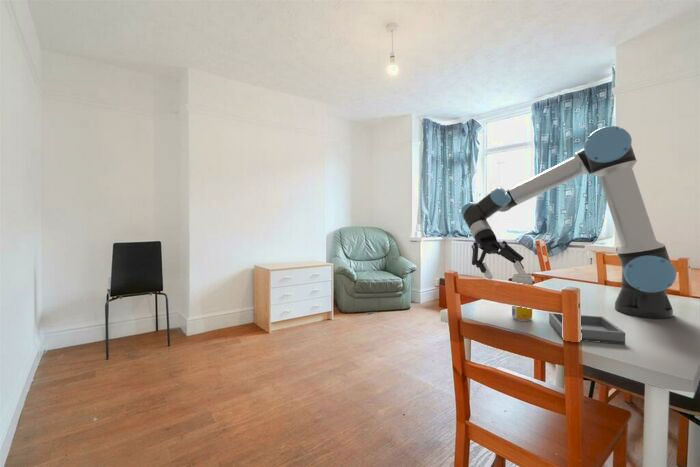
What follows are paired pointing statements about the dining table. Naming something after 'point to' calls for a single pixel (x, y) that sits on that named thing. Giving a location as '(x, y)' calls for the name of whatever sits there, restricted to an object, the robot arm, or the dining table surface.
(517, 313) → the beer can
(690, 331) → the dining table surface
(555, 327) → the tray
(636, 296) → the robot arm
